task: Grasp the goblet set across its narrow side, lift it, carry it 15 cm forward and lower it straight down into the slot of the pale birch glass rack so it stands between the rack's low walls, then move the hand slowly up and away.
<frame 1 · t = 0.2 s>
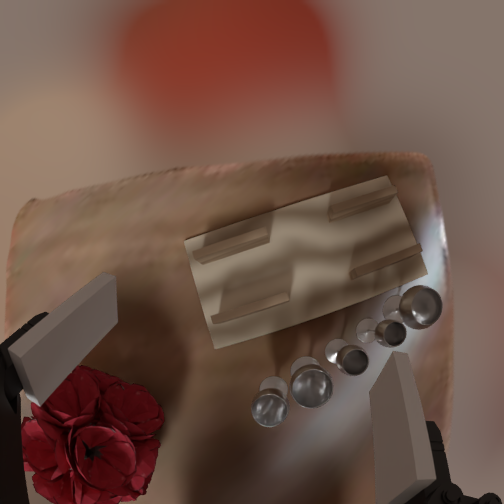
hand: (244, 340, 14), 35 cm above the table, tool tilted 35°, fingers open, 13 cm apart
glass rack: (308, 258, 49), on the table
bouquet: (115, 428, 46), on the table
goblet set: (338, 350, 46), on the table
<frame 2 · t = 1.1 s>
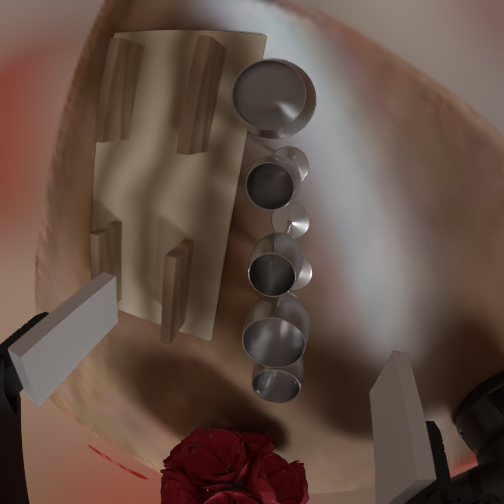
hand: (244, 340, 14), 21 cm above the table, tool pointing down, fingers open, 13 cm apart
glass rack: (157, 187, 34), on the table
bouquet: (253, 447, 48), on the table
goblet set: (290, 217, 33), on the table
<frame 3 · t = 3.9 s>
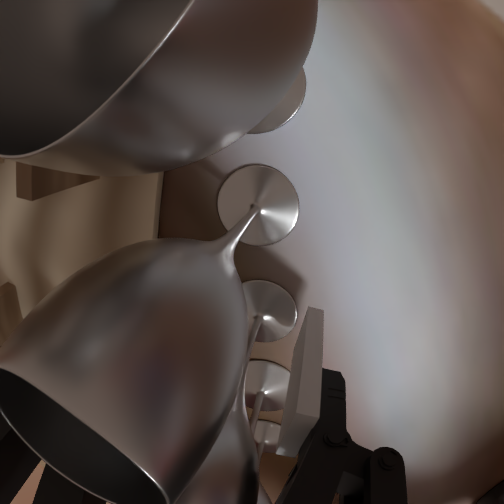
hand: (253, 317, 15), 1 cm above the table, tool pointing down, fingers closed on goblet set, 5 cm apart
glass rack: (45, 238, 18), on the table
goblet set: (261, 305, 17), on the table, touching gripper
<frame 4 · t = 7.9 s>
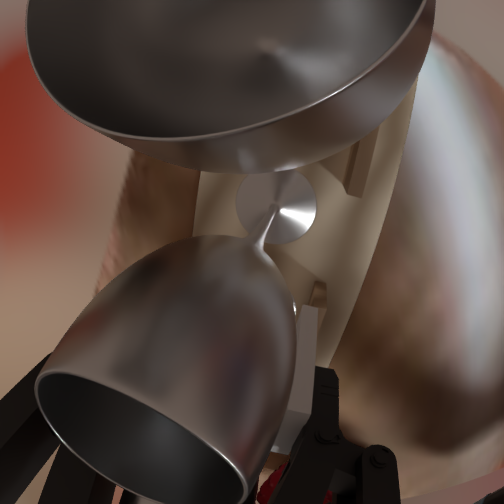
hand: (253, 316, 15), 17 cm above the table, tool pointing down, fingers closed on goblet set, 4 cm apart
glass rack: (286, 222, 31), on the table
bouquet: (332, 470, 45), on the table
goblet set: (261, 301, 17), point 15 cm above the table, touching gripper
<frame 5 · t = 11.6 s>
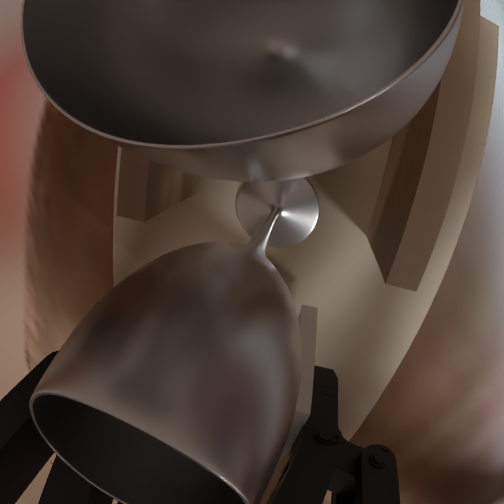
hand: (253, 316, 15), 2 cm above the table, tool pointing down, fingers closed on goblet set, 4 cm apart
glass rack: (261, 298, 17), on the table
goblet set: (260, 305, 17), resting on glass rack, touching gripper
when the fingers open (2 cm above the table, at t = 12.6 s): goblet set stays where it is, resting on glass rack.
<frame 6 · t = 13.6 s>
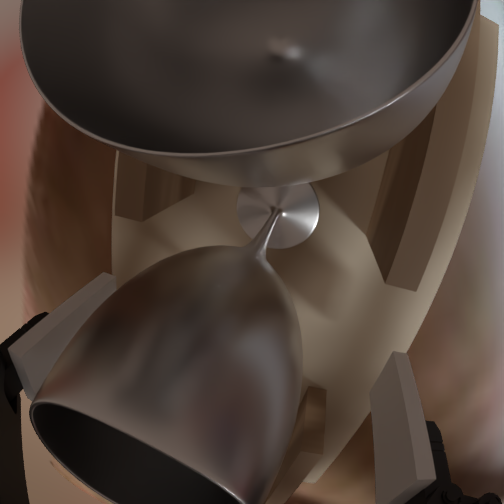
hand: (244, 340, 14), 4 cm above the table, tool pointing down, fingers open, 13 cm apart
glass rack: (260, 298, 17), on the table
goblet set: (260, 306, 17), resting on glass rack
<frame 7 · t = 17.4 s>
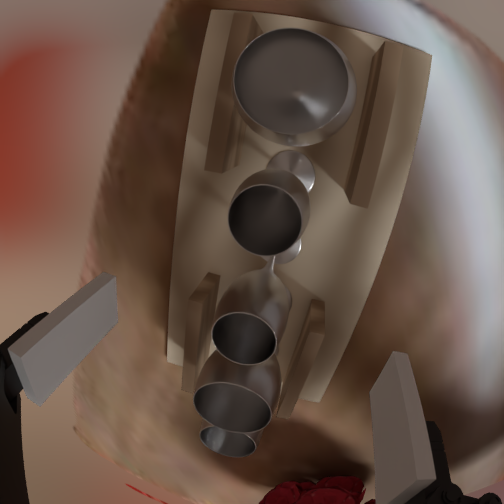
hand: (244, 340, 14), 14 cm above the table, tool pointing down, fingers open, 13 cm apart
glass rack: (278, 233, 27), on the table
bouquet: (331, 487, 41), on the table
goblet set: (278, 238, 26), resting on glass rack
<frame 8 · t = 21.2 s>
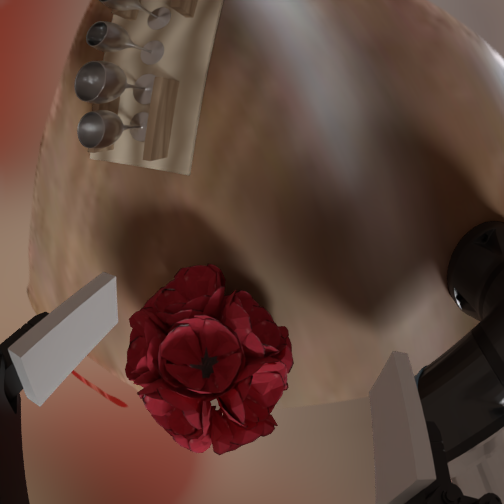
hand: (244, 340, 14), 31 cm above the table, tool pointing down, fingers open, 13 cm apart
glass rack: (154, 49, 37), on the table
bouquet: (234, 329, 52), on the table
goblet set: (153, 51, 37), resting on glass rack
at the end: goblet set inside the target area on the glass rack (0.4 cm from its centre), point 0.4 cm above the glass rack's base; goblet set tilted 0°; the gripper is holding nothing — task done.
